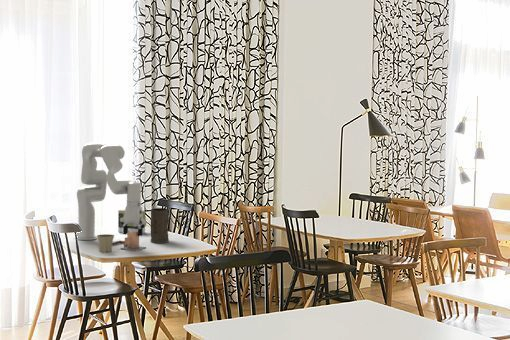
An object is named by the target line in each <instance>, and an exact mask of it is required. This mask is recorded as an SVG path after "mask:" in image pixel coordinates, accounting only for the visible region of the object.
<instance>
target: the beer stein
mask: <svg viewBox="0 0 510 340" xmlns="http://www.w3.org/2000/svg"><path fill="white" fill-rule="evenodd" d="M168 211H169V210H168V208H165V207H163V208H162V207H157V208H151V209H150V243H153V244H165V243H168V242H169V241H170V240H169V230H168V225H169V212H168Z"/></svg>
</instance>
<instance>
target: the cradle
mask: <svg viewBox="0 0 510 340" xmlns="http://www.w3.org/2000/svg"><path fill="white" fill-rule="evenodd" d="M120 244H121V245H122V244H123V248H124V247H127V244H125V240H116V241H113V242H112V247H113V246H116V245H120Z"/></svg>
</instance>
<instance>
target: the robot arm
mask: <svg viewBox="0 0 510 340" xmlns="http://www.w3.org/2000/svg"><path fill="white" fill-rule="evenodd" d="M125 152H126V151H125V150H124V147H122V145H120V144H115V143H110V142H89V143H86V144H84V145H83V147H82V149H81V157H82V165H81V175H80V179H81V183H82V184H83V185H85V186H82V187H79V188H78V190H77V191H76V199H77V205H78V209H77V210H78V223H77V224H78V225H79V226H80V227H81V229H82V232H80V233H77V234H76V236H78V239H77V240H79V241H90V240H91V241H92V240H98V238H97V235H95V233H96V232H95V224H96V223H95V219H96V218H95V217H96V215H95V214H96V213H95V206H94V205H93V203H96V202H103V201H104V200H105V198H106V193H107V187H109V190H110V191H111V193H112V194H114V195H126V206H125V208H124V210H125V214H124V217H122V218H120V221H121V224H122V225H123V232H124V233H123V235H126V234H127V232H128V226H127V225H128V224H130V225H137V226H138V227H139V229H138V236H139V237H141V236H143V233H142V232H143V228H144V227H145V228H146V225H147V222H148V221H147V220H146V219H145V220H144V219H143V212H142V210H143V208H142V206H143V203H141V198H142V194H141V193H142V184H141V182H137V181H134V180H133V181H132V180H117V179H116V177H115V175H116V174H117V173H118V172H120V171H121V170H122V168H123V167H124V166H123V162H122V161H121V160H122V159H123V158H124V157H125ZM96 158H102V160H103V162H104V164H105V166H106V168H107V170H108V171H107V172H106V170H104V169H103V168H97V167H98V162H97V159H96ZM93 185H95V186H93ZM107 185H108V186H107ZM123 220H124V221H123Z"/></svg>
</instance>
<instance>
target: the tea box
mask: <svg viewBox="0 0 510 340" xmlns="http://www.w3.org/2000/svg"><path fill="white" fill-rule="evenodd" d="M142 212H143V219H144V220H146V211H145V210H143V209H142ZM117 213H118V214H117V215H118V216H117V217H118V218H117V220H118V223H117V224H118V226H117V227H118V228H117V231H118V233H121V234H124V232H123V225H122V224H121V221H120V218H122V217H124V214H125V209H119V210H118V212H117ZM123 221H124V220H123ZM127 226H128V231H138V229H139V227H138V226H137V225H130V224H128V225H127ZM144 233H146V226H145V227H144V228H143V232H142V234H144Z"/></svg>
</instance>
